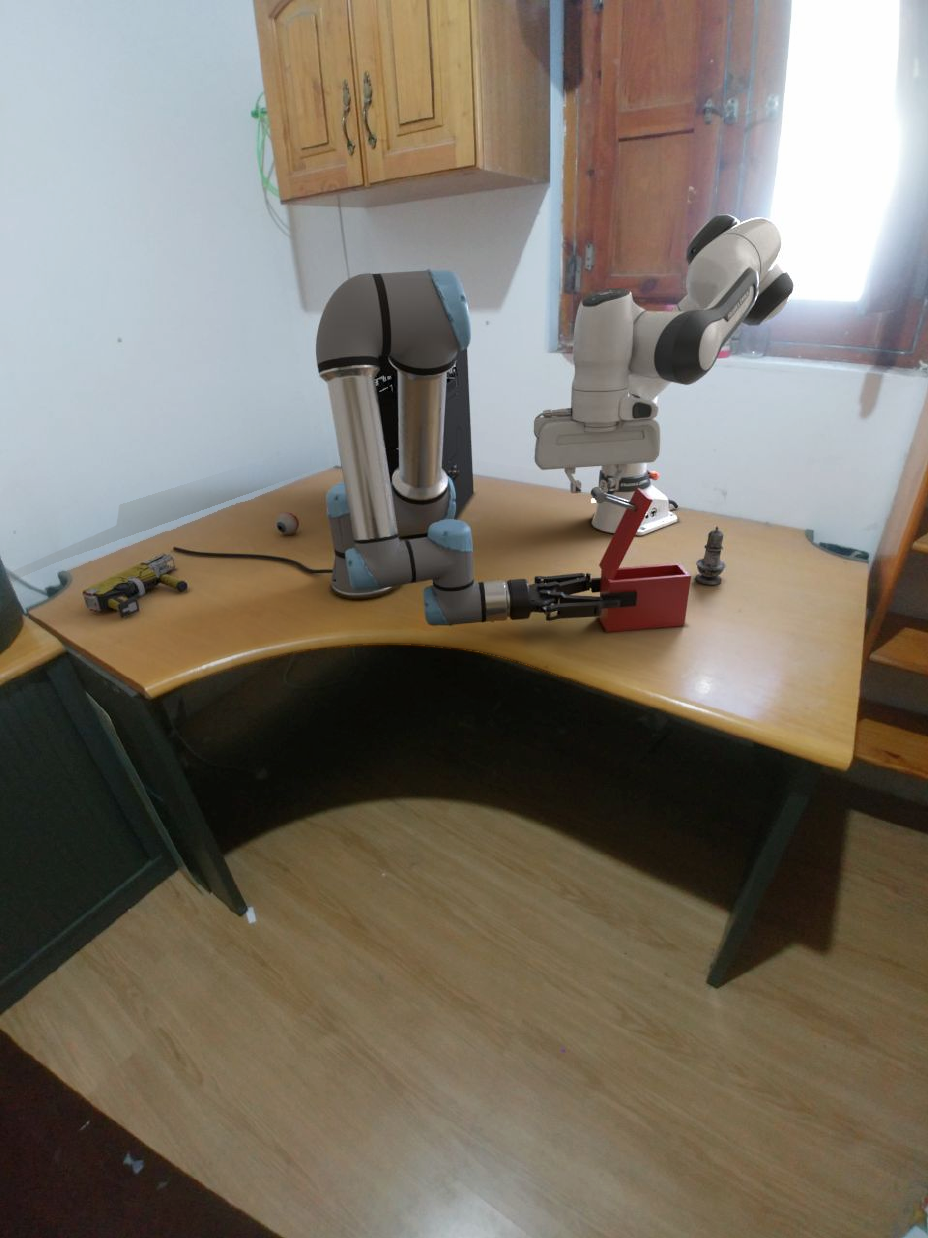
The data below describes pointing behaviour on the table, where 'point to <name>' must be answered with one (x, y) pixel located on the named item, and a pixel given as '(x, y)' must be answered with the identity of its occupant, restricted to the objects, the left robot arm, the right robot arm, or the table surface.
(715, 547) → the grey chess bishop
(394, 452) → the black tall block
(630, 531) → the lid
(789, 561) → the table surface
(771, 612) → the table surface
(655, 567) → the chest
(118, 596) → the toy gun
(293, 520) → the eyeball
